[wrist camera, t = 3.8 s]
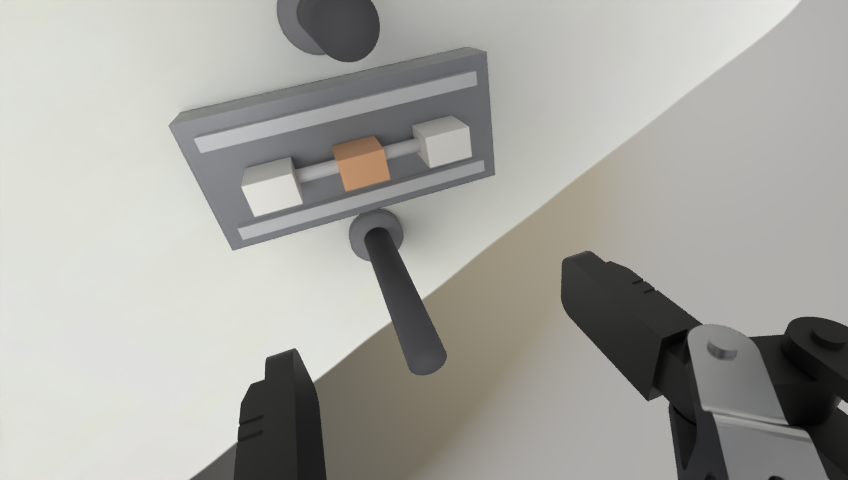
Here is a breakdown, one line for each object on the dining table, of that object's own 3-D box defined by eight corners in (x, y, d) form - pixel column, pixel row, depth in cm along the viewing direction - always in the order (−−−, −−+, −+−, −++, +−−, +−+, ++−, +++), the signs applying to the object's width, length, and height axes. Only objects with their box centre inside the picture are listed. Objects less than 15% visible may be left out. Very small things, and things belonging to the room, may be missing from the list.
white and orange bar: (451, 115, 25) (468, 126, 23) (455, 142, 26) (472, 156, 24) (244, 168, 23) (240, 186, 21) (256, 196, 24) (254, 217, 22)
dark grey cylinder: (277, -36, 21) (274, -77, 10) (352, -18, 23) (421, -39, 12) (276, 46, 23) (273, 86, 12) (346, 58, 25) (401, 103, 14)
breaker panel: (467, 47, 26) (490, 52, 23) (477, 160, 31) (498, 177, 28) (180, 112, 23) (165, 128, 20) (236, 228, 28) (231, 255, 25)
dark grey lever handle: (351, 208, 30) (394, 332, 18) (403, 210, 31) (473, 326, 20) (346, 255, 31) (383, 393, 20) (396, 254, 33) (456, 384, 22)
